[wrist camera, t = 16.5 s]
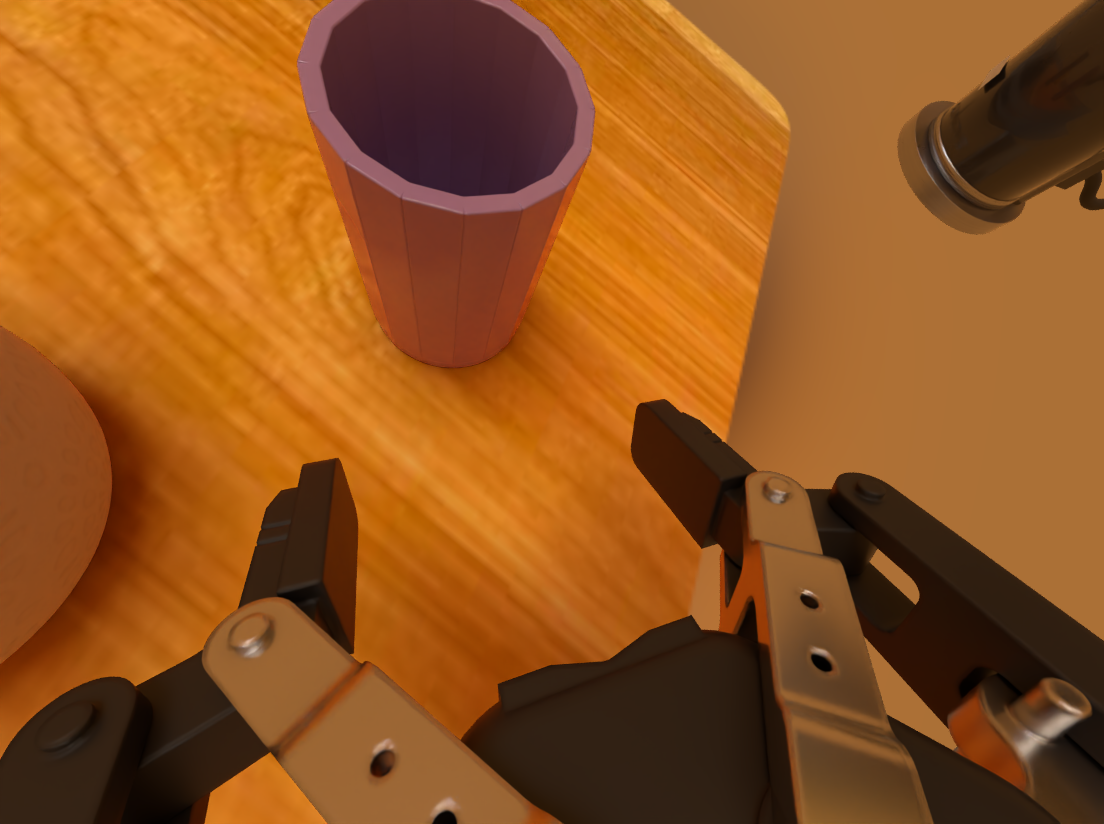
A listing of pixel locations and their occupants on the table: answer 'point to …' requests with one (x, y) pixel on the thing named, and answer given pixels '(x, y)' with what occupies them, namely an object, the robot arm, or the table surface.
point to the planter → (45, 489)
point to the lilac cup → (446, 160)
